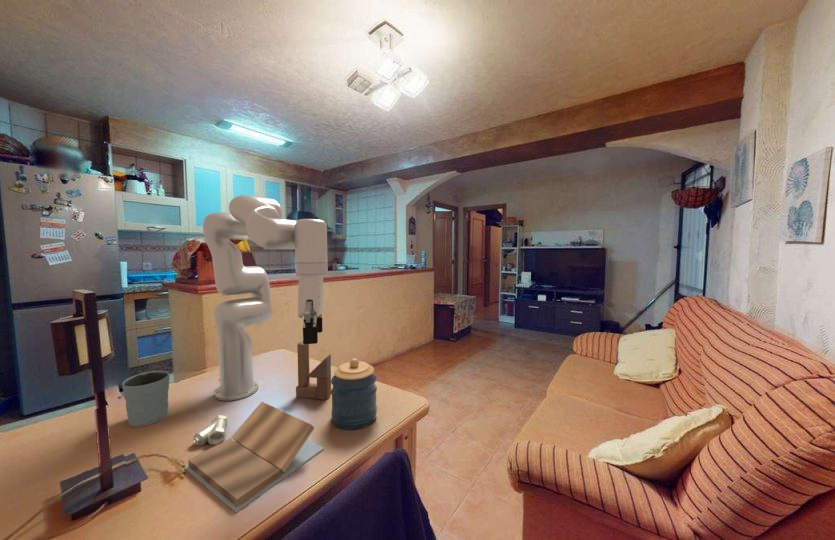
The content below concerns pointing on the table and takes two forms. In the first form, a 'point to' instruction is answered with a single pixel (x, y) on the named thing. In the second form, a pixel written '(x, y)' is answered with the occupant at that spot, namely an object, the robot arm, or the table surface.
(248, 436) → the plank
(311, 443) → the underlay mat
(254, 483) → the floor board
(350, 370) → the canister
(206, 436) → the pipe fitting
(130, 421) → the grey pot
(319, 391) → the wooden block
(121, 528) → the table surface
